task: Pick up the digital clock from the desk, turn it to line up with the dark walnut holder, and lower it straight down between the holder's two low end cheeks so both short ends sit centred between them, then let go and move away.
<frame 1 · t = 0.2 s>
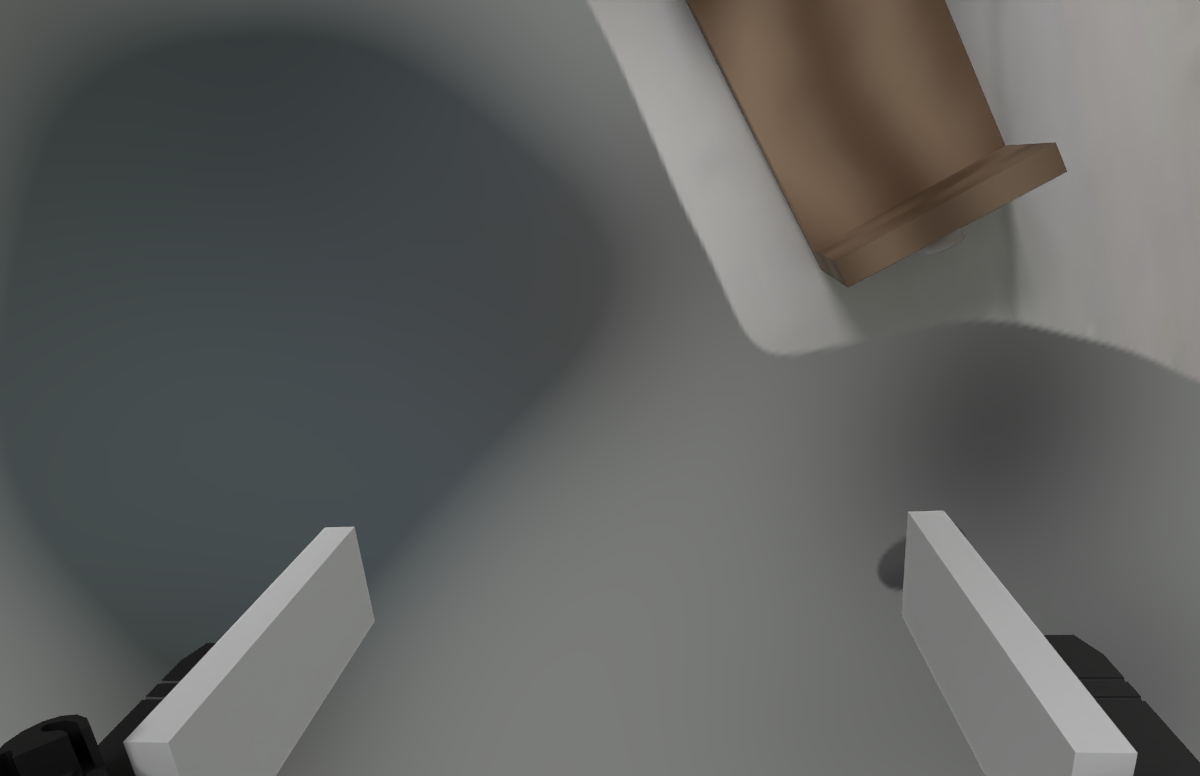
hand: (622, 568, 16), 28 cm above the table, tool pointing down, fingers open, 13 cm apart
walnut holder: (827, 42, 37), on the table
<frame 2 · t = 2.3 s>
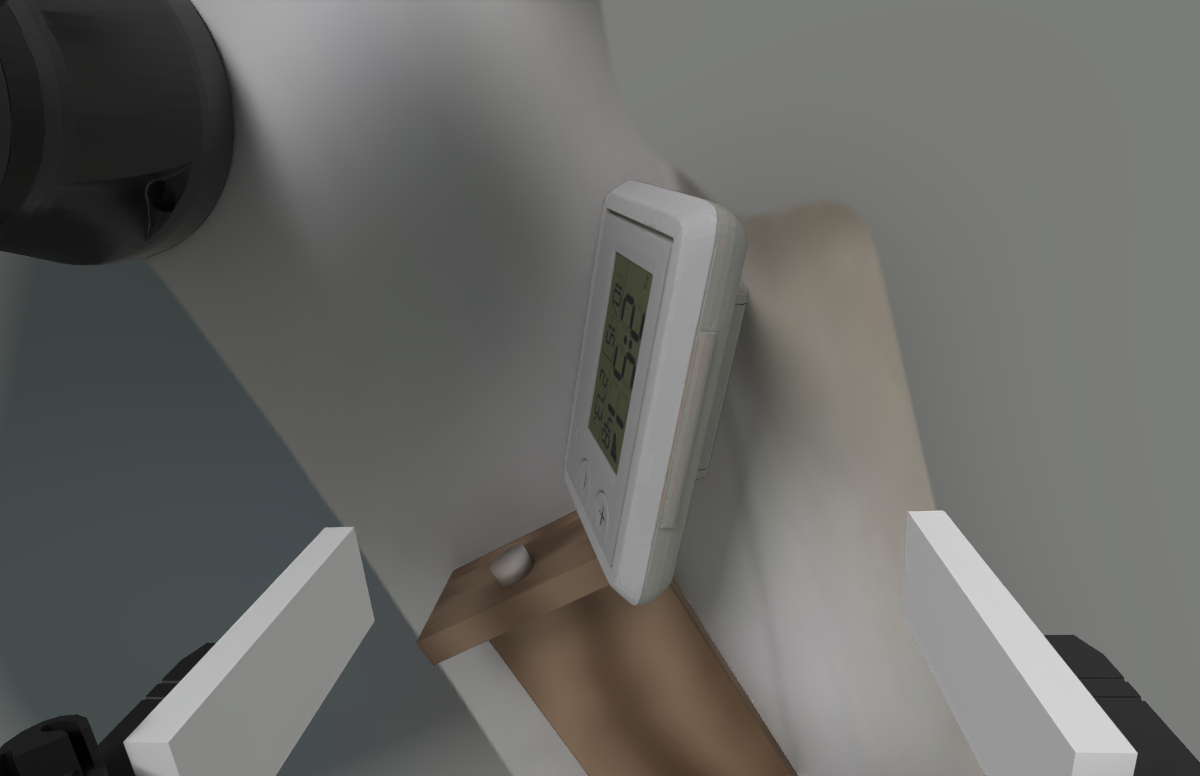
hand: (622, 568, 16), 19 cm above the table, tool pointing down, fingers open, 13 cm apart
digital clock: (639, 346, 34), on the table
walnut holder: (630, 675, 41), on the table
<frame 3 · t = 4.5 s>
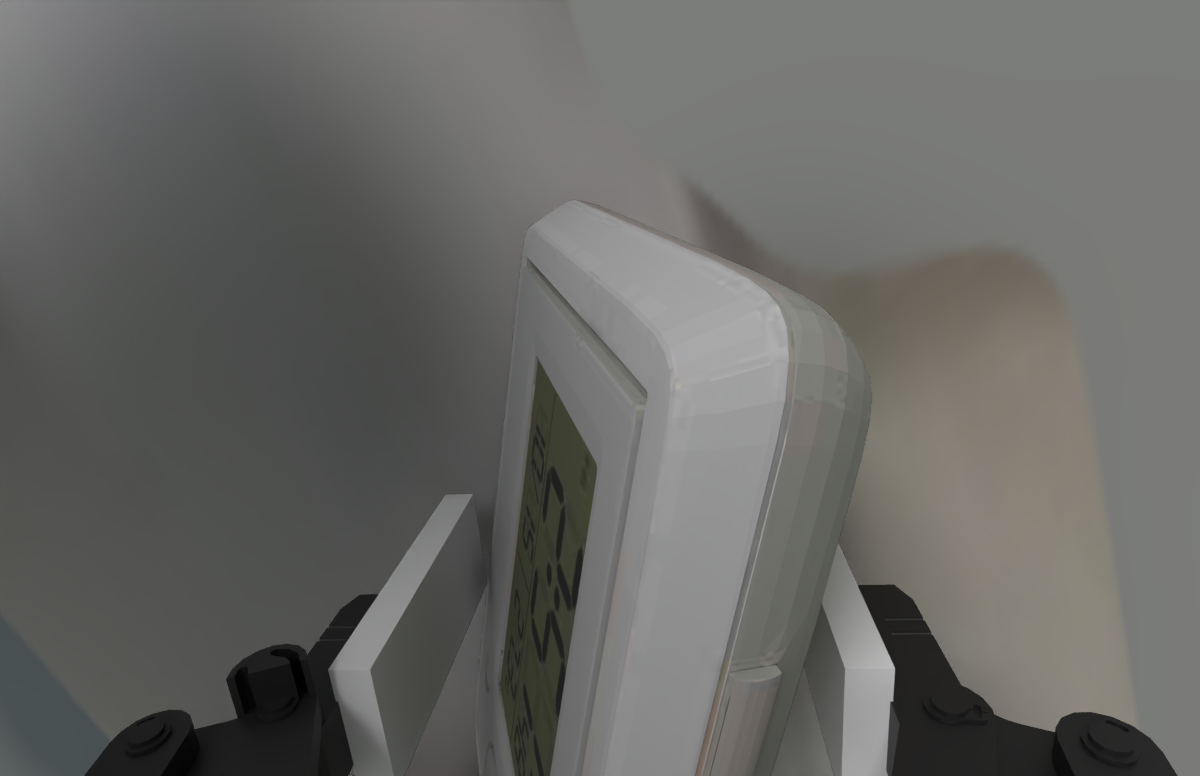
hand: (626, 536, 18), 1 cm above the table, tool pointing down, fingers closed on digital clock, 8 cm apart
digital clock: (606, 497, 19), on the table, touching gripper
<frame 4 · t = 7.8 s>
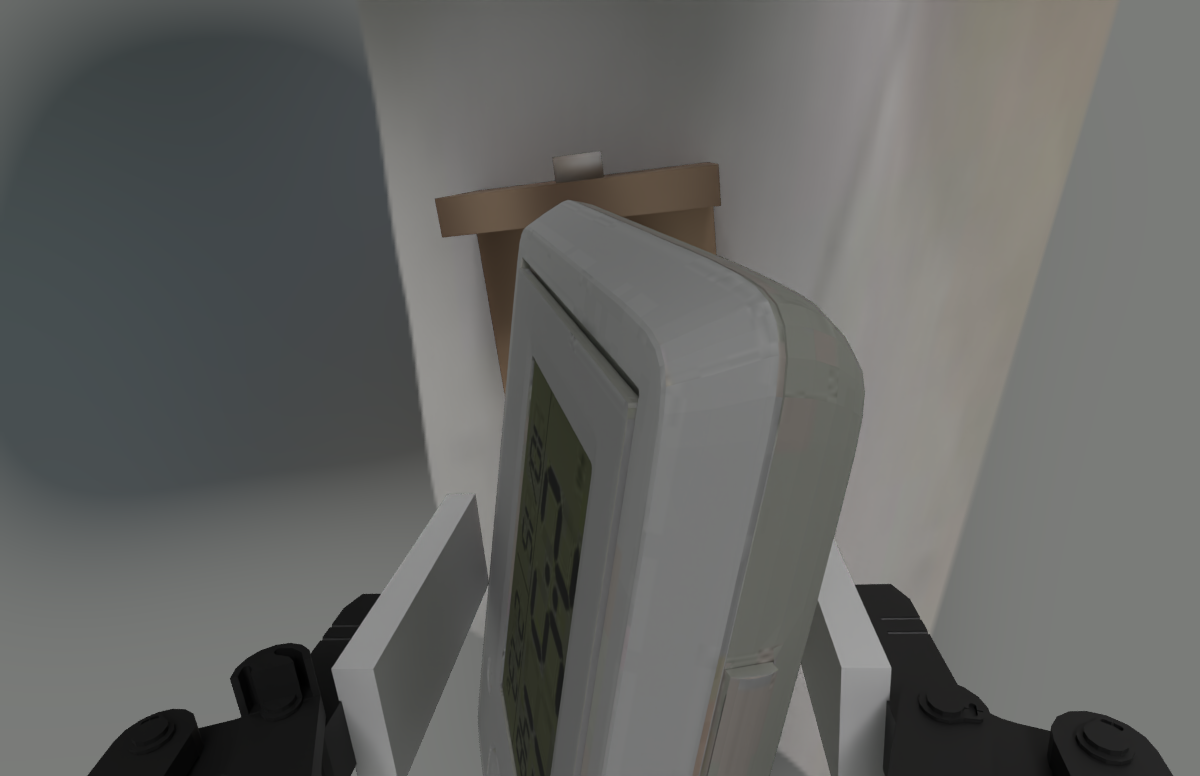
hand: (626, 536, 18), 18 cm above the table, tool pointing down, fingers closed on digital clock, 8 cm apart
digital clock: (606, 498, 19), point 16 cm above the table, touching gripper
walnut holder: (616, 397, 35), on the table
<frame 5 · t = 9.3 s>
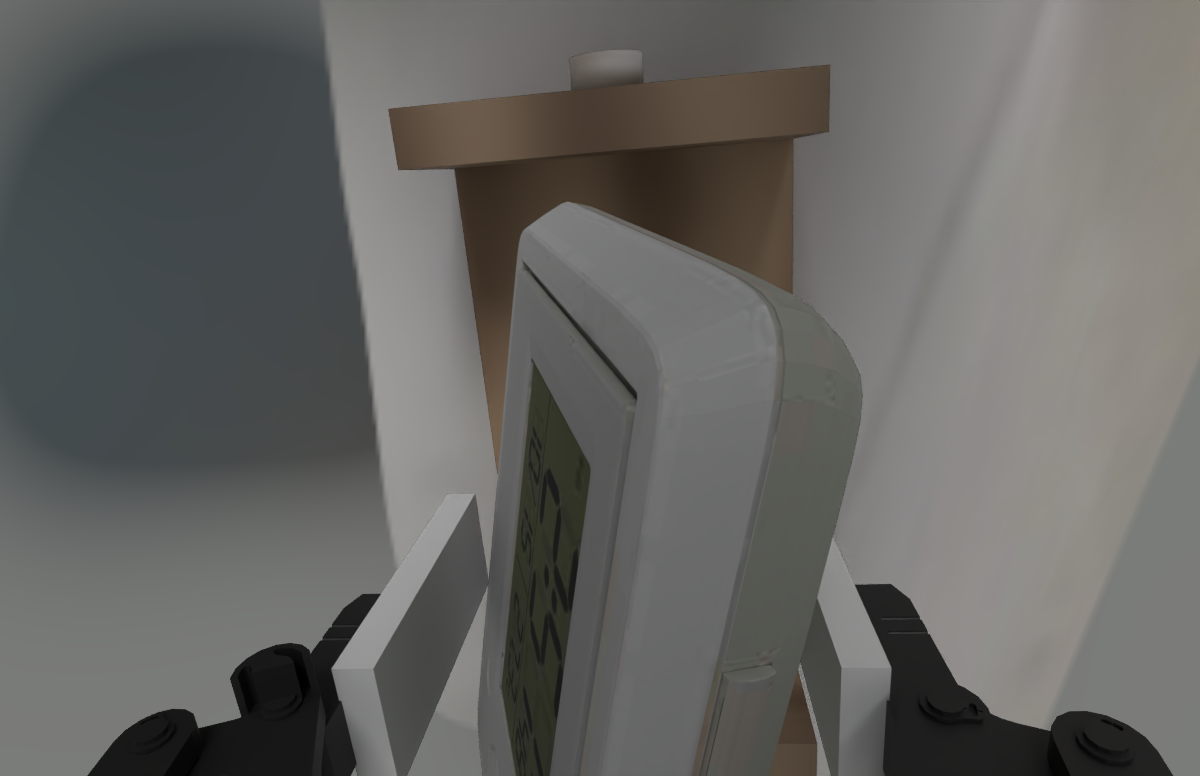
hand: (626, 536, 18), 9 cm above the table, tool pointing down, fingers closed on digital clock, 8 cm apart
digital clock: (605, 499, 19), point 7 cm above the table, touching gripper
walnut holder: (639, 416, 26), on the table
when the fingers open (3 cm above the table, at t = 10.8 s): digital clock stays where it is, resting on walnut holder.
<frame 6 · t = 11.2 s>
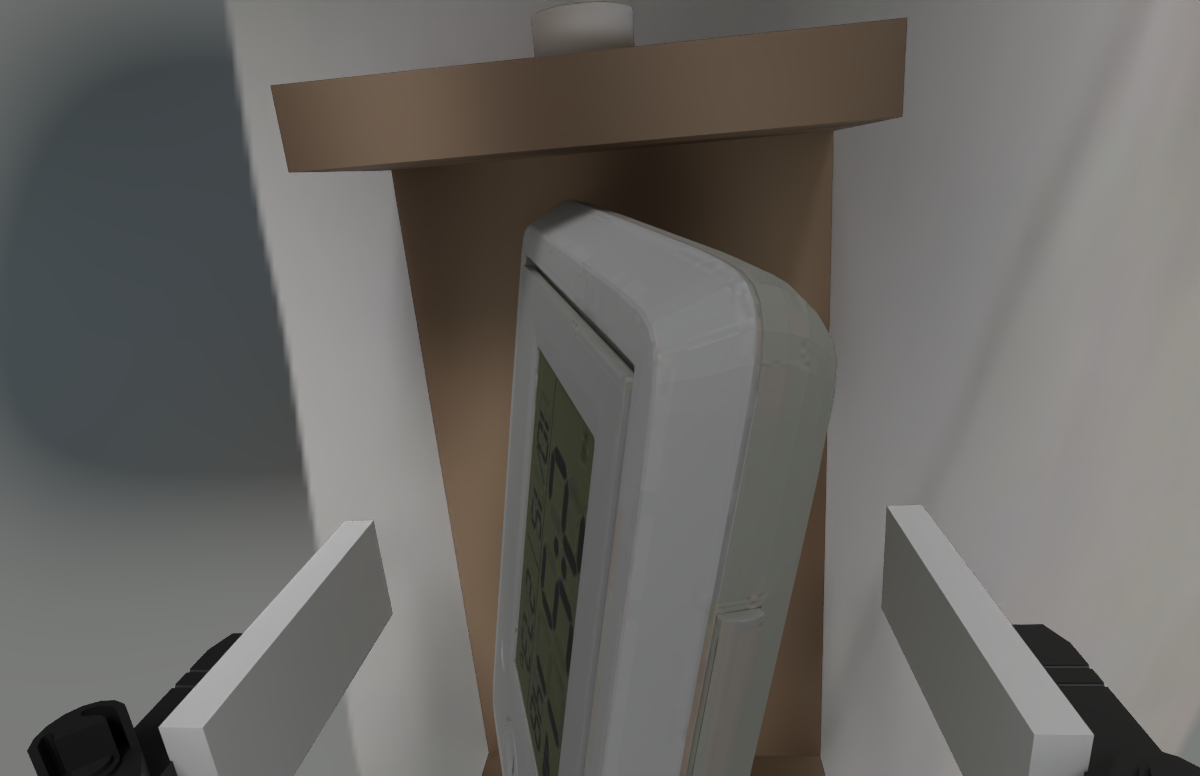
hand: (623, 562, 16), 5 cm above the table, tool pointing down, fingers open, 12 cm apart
digital clock: (610, 483, 20), point 1 cm above the table, touching walnut holder
walnut holder: (632, 478, 21), on the table
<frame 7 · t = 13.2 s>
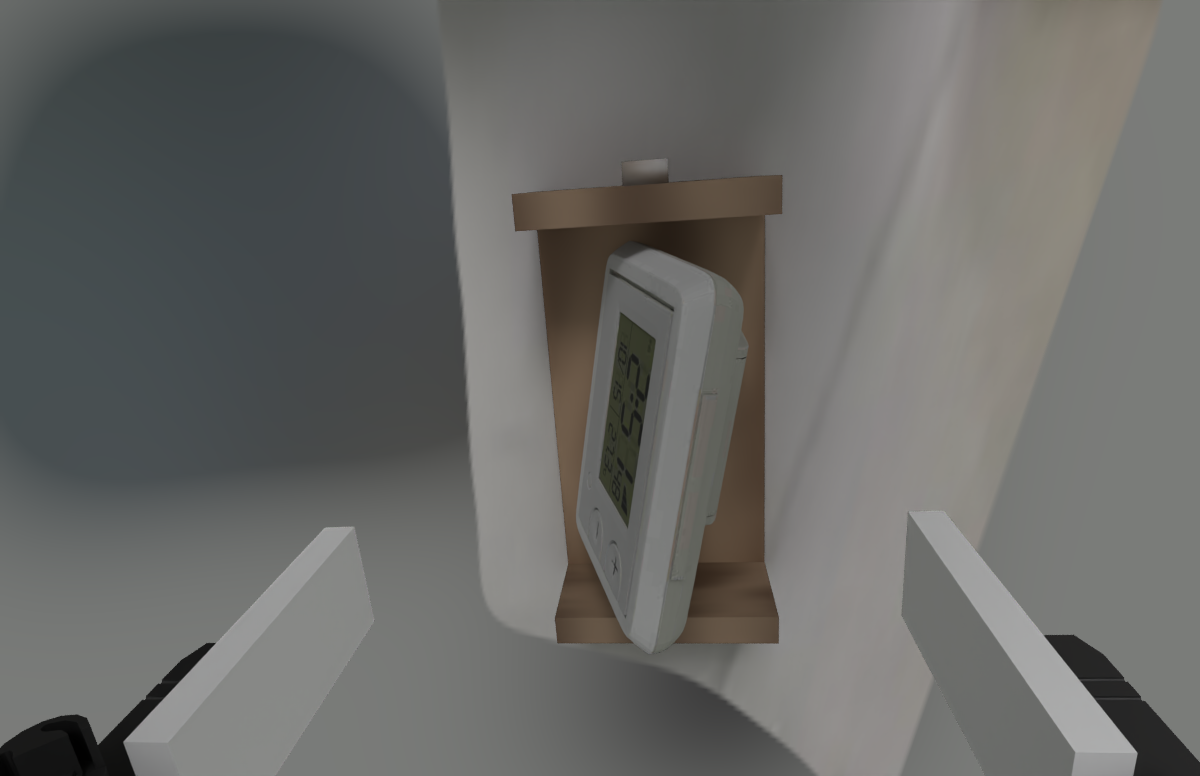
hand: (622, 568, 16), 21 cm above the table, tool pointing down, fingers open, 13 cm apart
digital clock: (645, 395, 36), point 1 cm above the table, touching walnut holder
walnut holder: (657, 396, 37), on the table
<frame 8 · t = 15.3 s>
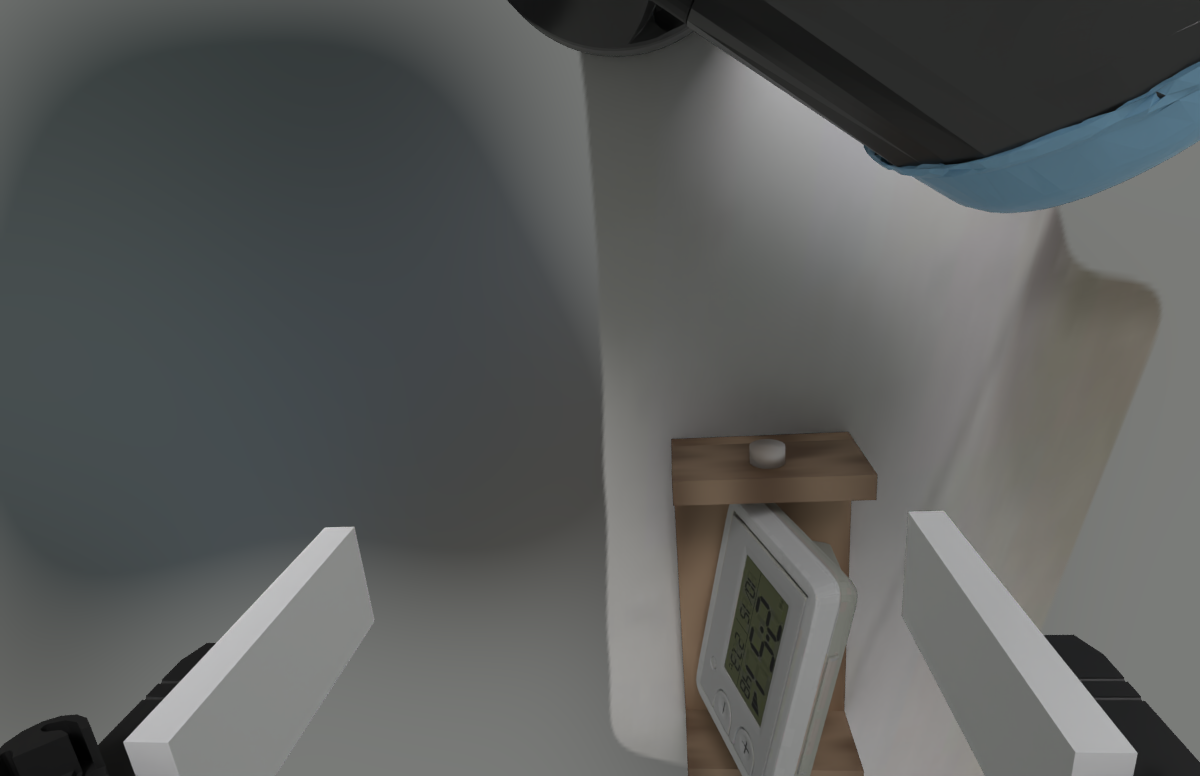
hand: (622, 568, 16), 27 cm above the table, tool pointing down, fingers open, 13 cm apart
digital clock: (752, 588, 45), point 1 cm above the table, touching walnut holder
walnut holder: (760, 585, 46), on the table
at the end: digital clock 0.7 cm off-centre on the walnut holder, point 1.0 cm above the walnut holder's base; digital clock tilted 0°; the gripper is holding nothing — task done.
